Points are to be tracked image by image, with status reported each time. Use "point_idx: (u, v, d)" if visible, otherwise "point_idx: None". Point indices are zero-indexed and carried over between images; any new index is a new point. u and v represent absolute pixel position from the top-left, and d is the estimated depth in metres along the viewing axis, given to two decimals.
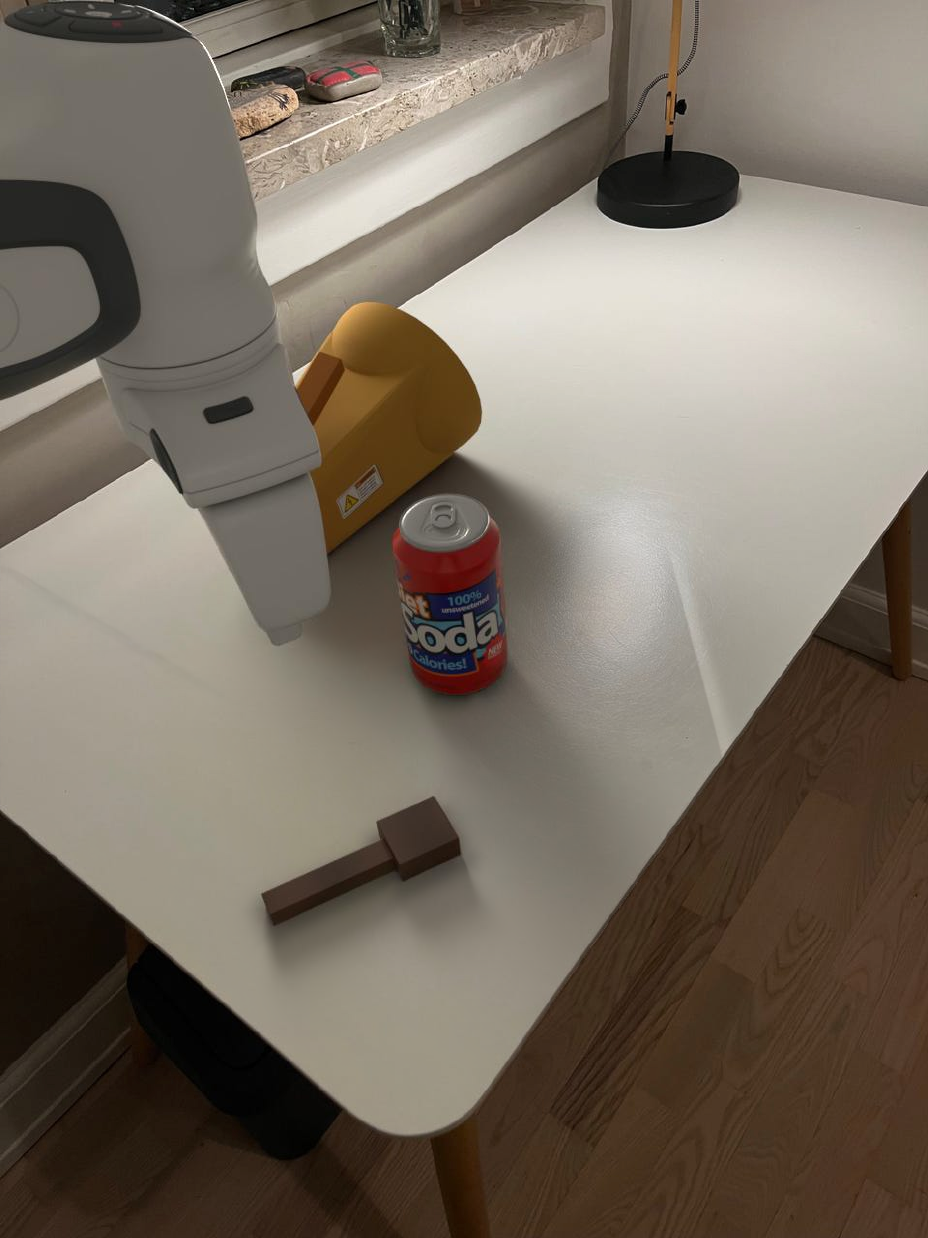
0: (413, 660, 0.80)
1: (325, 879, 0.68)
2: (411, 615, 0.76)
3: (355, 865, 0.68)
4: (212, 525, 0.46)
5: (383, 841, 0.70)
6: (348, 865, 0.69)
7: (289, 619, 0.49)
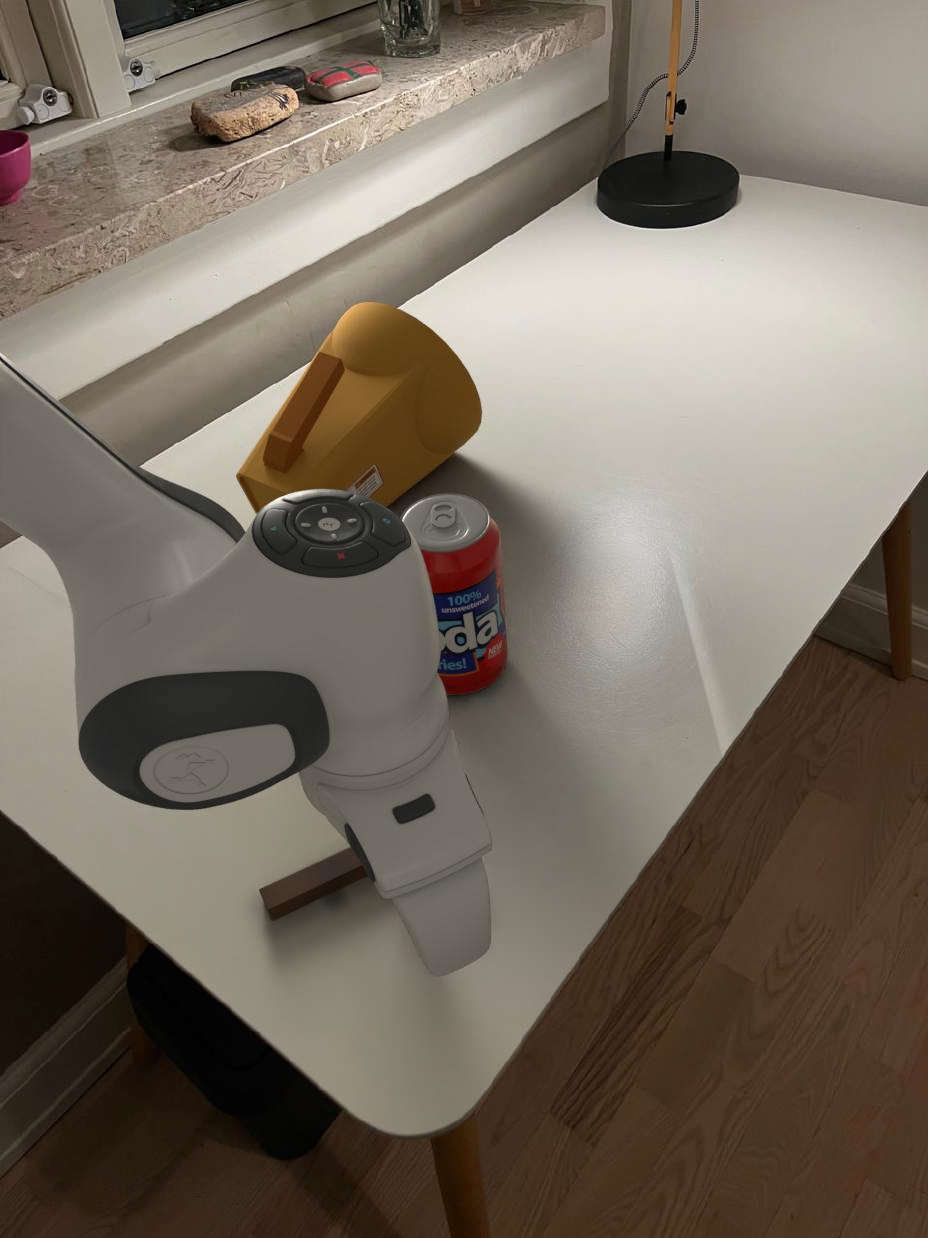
0: None
1: (323, 874, 0.68)
2: None
3: (352, 860, 0.69)
4: (400, 909, 0.53)
5: None
6: (345, 860, 0.69)
7: (455, 968, 0.56)
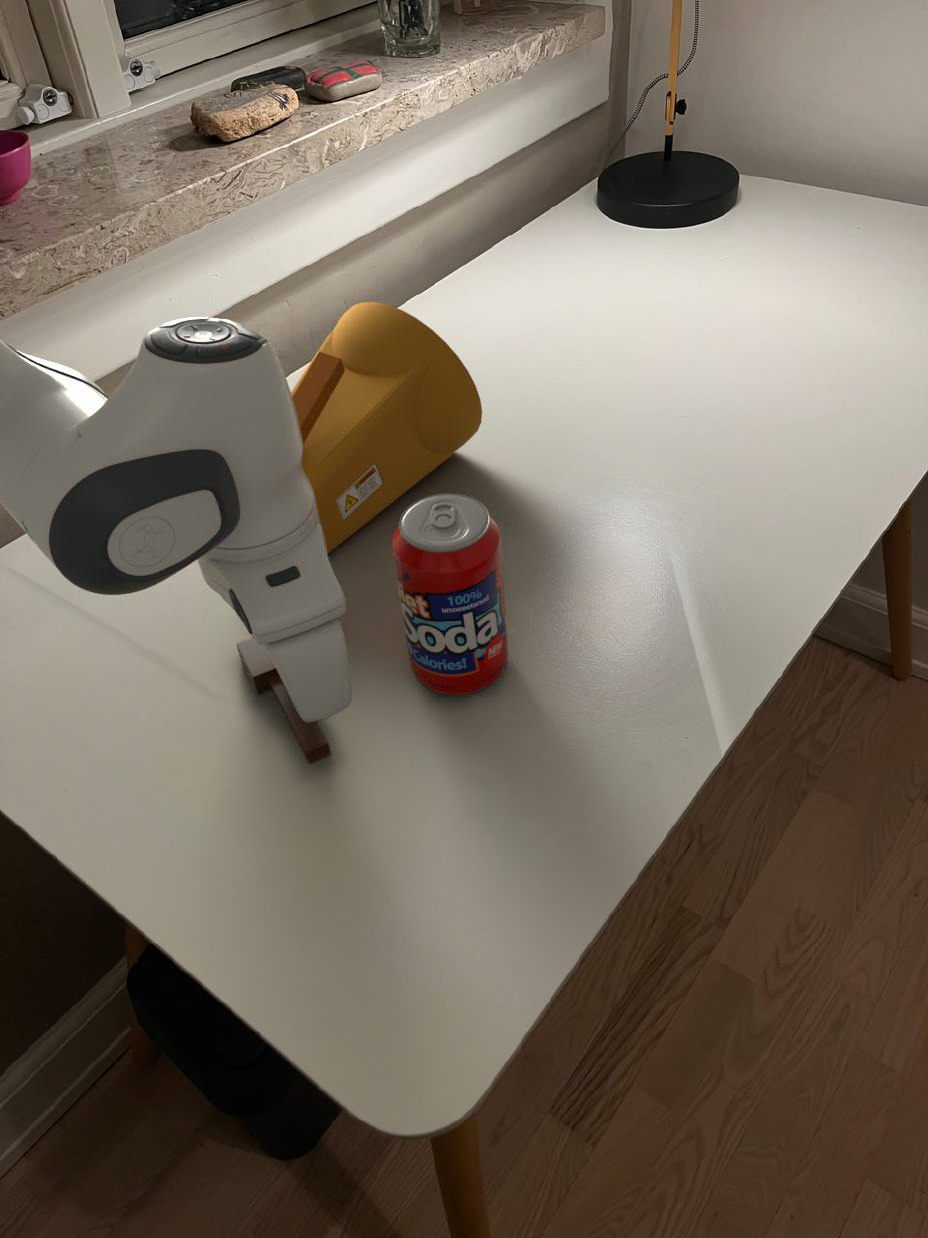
0: (413, 660, 0.80)
1: None
2: (411, 615, 0.76)
3: None
4: (272, 655, 0.67)
5: (270, 677, 0.82)
6: (289, 696, 0.80)
7: (323, 715, 0.70)
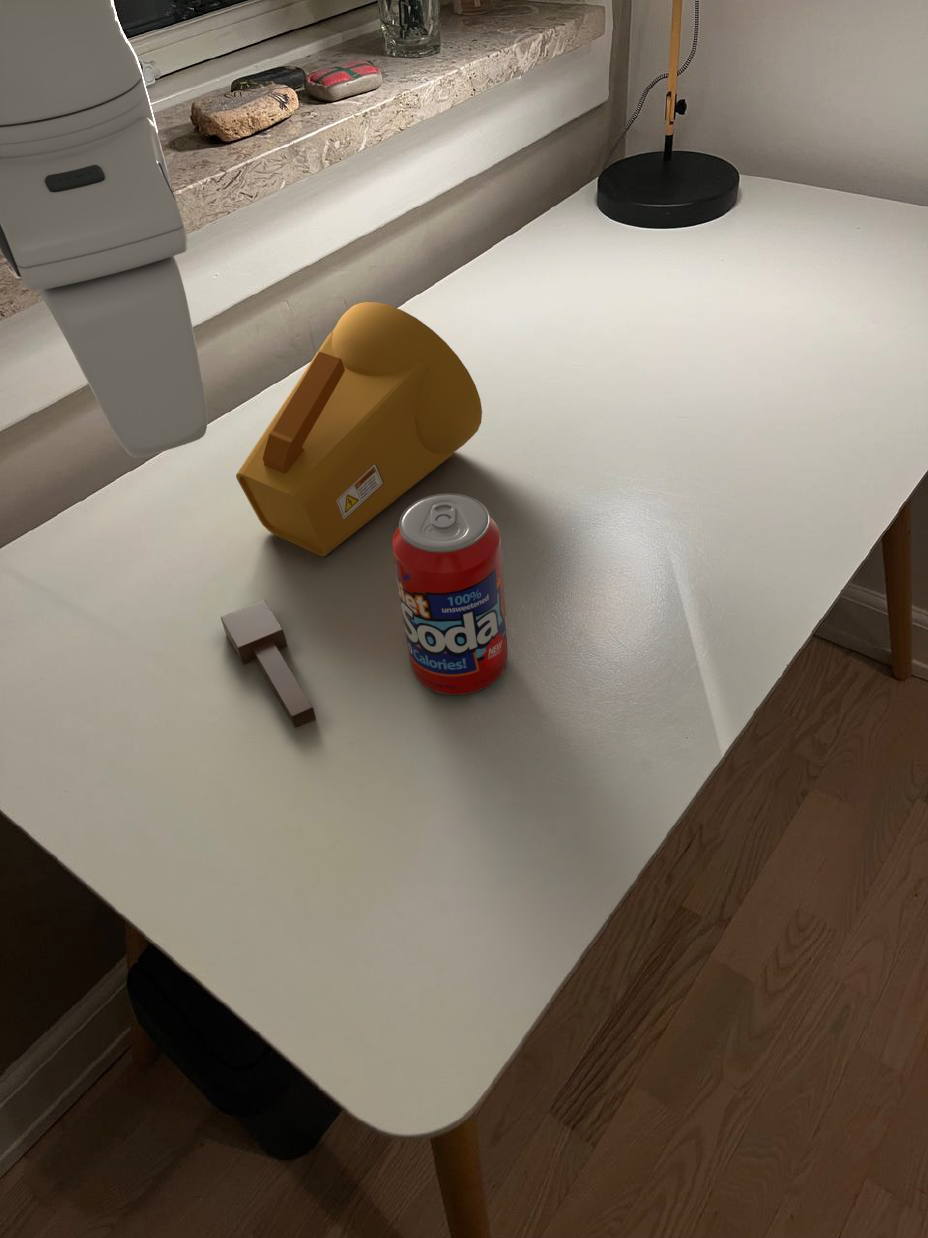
0: (413, 660, 0.80)
1: (285, 677, 0.82)
2: (411, 615, 0.76)
3: (275, 661, 0.83)
4: (56, 313, 0.39)
5: (255, 647, 0.84)
6: (274, 665, 0.83)
7: (158, 439, 0.43)
